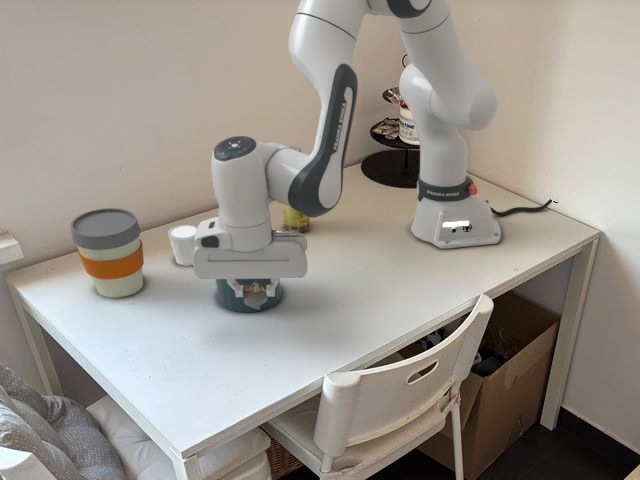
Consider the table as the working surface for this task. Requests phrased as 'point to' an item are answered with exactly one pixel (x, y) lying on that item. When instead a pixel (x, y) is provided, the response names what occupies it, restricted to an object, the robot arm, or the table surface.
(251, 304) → the figurine
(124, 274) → the reusable coffee cup
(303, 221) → the sauce bottle
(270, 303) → the pot
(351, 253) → the table surface
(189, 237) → the white cylinder
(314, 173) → the robot arm
